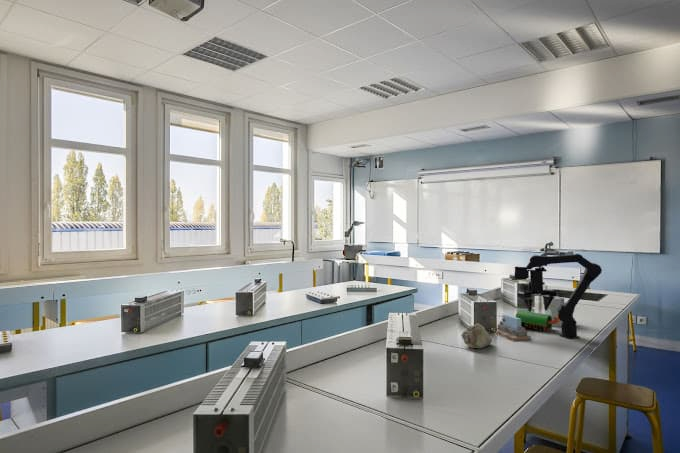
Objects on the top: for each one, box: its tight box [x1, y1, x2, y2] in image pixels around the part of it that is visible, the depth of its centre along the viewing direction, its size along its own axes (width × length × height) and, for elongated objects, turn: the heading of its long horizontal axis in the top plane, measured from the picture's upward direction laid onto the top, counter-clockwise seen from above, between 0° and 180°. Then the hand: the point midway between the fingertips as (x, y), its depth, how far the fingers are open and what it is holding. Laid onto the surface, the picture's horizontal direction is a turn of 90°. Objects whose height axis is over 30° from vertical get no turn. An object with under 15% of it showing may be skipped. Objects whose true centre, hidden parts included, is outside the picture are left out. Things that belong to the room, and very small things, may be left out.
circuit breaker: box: [542, 295, 574, 327], centre depth 224 cm, size 8×14×15 cm, turn 89°
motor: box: [515, 309, 559, 332], centre depth 215 cm, size 10×9×20 cm
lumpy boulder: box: [460, 323, 493, 349], centre depth 188 cm, size 11×11×15 cm
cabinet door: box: [501, 313, 521, 331], centre depth 205 cm, size 12×3×8 cm, turn 11°
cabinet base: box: [496, 320, 532, 341], centre depth 205 cm, size 20×10×6 cm, turn 12°
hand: (537, 310), depth 204 cm, fingers open, 9 cm apart
